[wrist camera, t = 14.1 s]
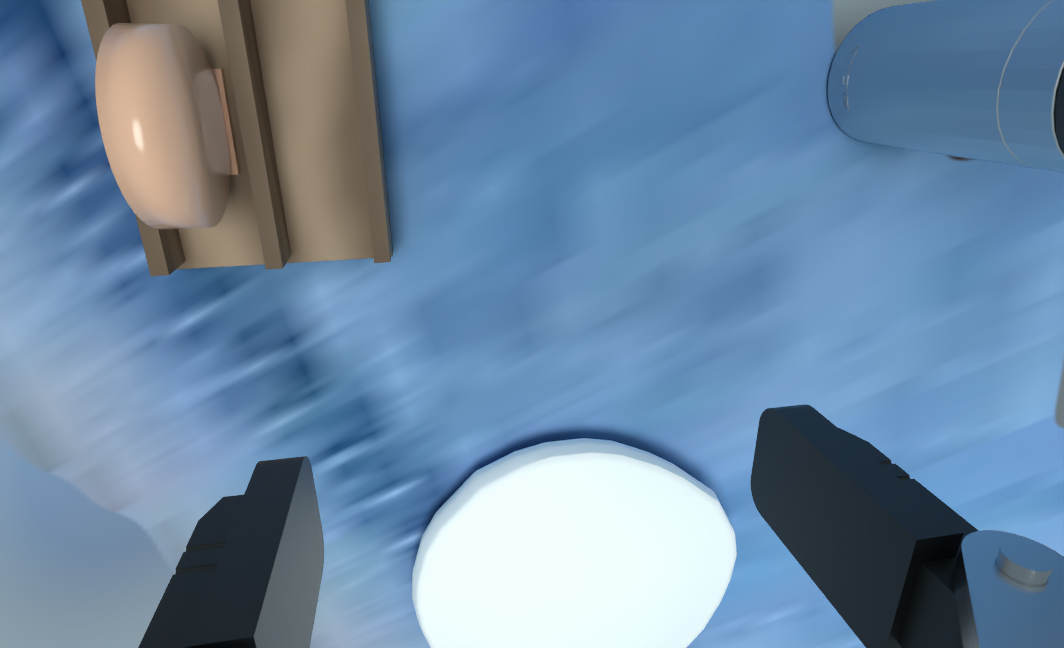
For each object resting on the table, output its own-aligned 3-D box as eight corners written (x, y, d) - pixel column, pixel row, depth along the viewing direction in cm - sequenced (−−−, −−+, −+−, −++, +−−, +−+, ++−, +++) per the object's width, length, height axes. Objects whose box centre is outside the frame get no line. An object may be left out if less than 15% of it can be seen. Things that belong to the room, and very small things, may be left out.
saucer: (217, 31, 35) (145, 15, 26) (246, 205, 39) (192, 248, 30) (160, 30, 35) (65, 13, 25) (195, 206, 39) (123, 251, 29)
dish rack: (363, -45, 36) (358, -59, 33) (392, 252, 43) (391, 269, 39) (103, -50, 34) (64, -65, 30) (177, 264, 41) (152, 284, 37)
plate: (399, 715, 54) (421, 452, 45) (407, 651, 60) (428, 408, 51) (707, 722, 57) (786, 479, 48) (685, 661, 63) (752, 435, 54)
